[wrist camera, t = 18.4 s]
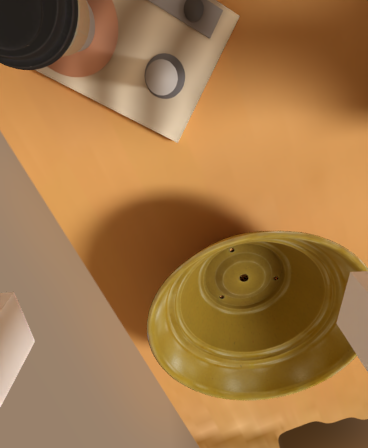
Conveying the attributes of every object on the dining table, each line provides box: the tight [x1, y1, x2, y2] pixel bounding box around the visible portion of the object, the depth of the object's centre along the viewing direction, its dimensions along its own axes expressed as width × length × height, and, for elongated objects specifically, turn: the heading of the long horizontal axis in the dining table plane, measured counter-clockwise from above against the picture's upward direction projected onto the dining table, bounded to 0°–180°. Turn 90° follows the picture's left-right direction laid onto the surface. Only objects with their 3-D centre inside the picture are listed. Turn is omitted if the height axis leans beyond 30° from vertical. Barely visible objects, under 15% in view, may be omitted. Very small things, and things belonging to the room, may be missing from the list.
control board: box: [35, 0, 240, 143], centre depth 30 cm, size 22×16×12 cm
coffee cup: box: [0, 0, 95, 70], centre depth 26 cm, size 9×9×15 cm
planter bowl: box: [147, 231, 368, 400], centre depth 46 cm, size 32×32×13 cm
